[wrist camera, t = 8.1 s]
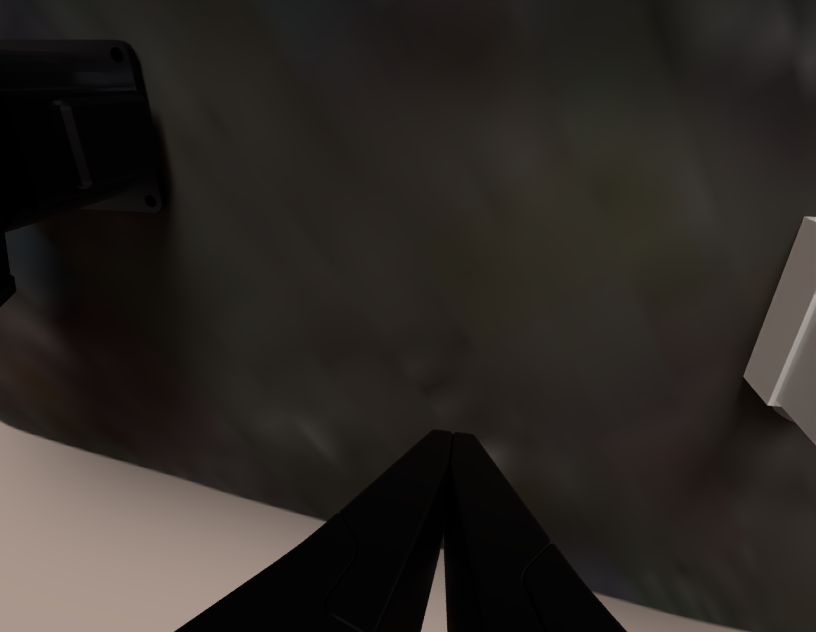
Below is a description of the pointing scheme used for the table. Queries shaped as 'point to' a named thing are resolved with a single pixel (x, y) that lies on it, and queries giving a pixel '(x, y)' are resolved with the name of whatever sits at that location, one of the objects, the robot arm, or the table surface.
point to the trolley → (790, 338)
